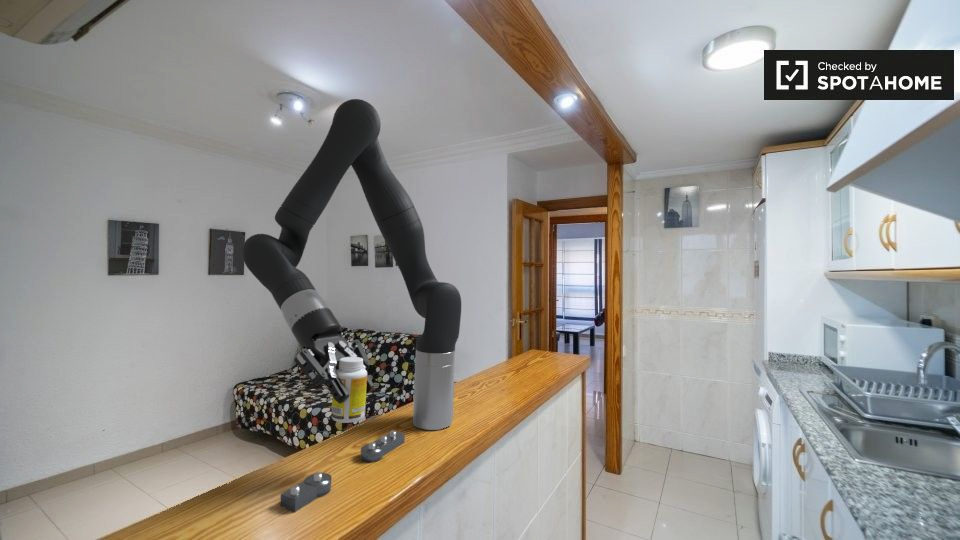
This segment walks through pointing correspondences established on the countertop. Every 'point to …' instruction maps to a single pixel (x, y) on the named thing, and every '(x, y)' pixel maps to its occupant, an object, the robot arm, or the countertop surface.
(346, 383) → the supplement bottle
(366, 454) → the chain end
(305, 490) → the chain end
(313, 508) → the countertop surface
